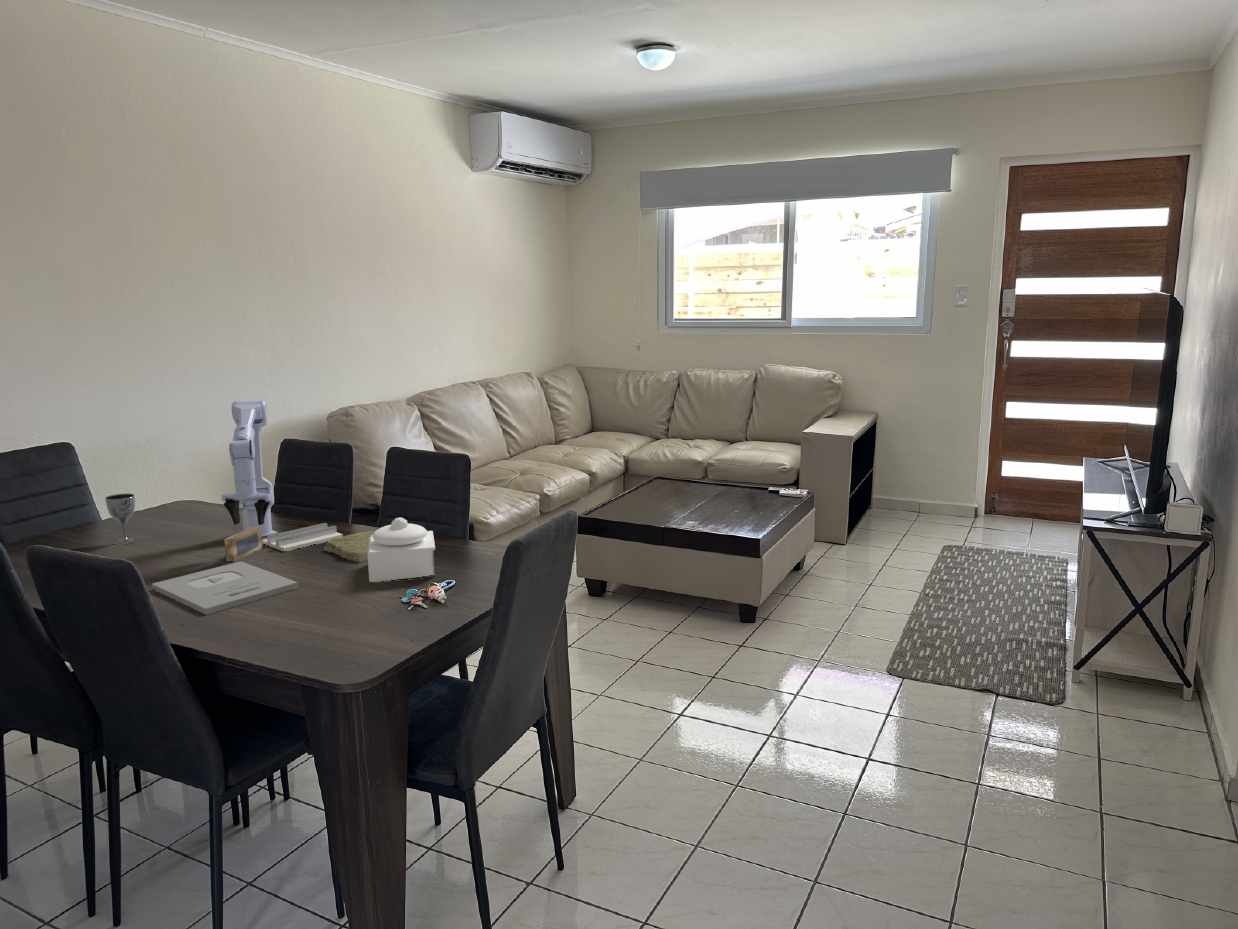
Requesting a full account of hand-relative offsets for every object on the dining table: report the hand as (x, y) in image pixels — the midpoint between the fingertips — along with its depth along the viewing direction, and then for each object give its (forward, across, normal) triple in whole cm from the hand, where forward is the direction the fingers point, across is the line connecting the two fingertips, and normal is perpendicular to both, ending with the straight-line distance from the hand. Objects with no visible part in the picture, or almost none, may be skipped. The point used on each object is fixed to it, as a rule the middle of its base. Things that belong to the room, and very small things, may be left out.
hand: (249, 523), depth 254 cm
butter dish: (+10, +51, -12) cm, 53 cm away
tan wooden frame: (+10, -2, -1) cm, 10 cm away
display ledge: (+10, +9, +15) cm, 20 cm away
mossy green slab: (+10, +33, +6) cm, 35 cm away
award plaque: (+10, +9, -30) cm, 33 cm away
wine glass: (+10, -47, +10) cm, 49 cm away
